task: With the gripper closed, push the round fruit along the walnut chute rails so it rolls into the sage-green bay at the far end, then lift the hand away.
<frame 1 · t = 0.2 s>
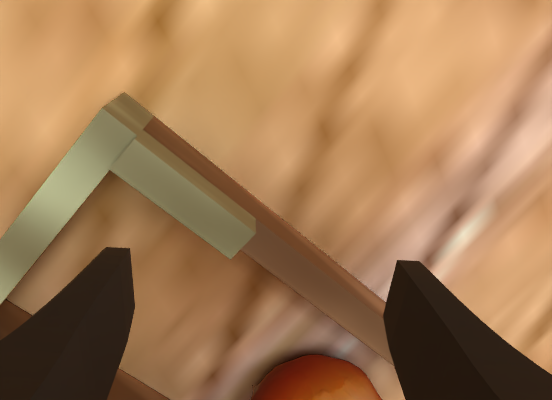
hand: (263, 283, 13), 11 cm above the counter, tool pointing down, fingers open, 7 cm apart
chute: (231, 339, 27), on the counter
fruit: (310, 390, 29), on the counter
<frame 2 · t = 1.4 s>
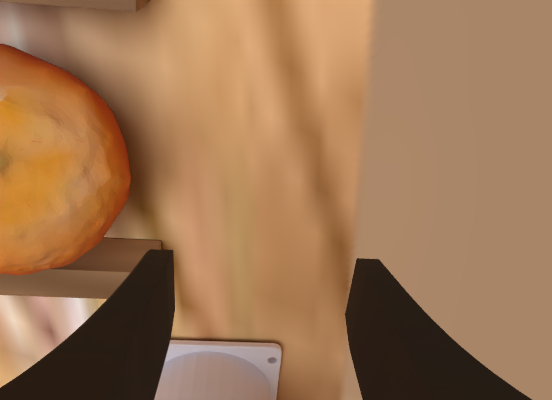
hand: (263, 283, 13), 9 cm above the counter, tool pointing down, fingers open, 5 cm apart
fruit: (51, 127, 21), on the counter
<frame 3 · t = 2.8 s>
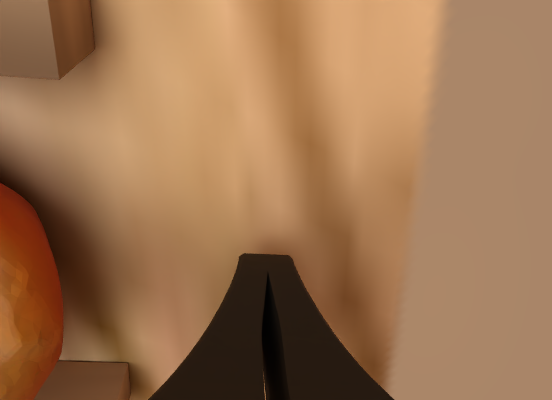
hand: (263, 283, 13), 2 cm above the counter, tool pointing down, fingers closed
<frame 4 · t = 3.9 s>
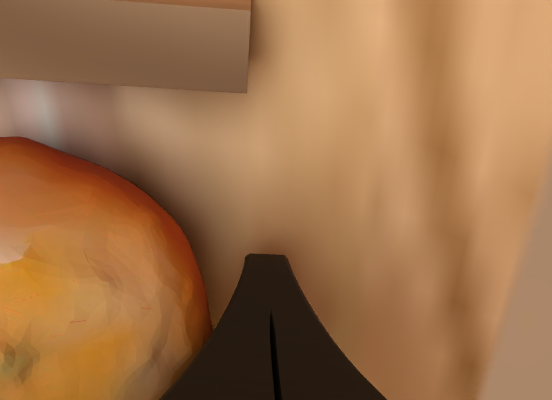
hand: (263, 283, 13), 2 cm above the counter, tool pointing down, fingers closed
fruit: (83, 231, 15), on the counter, touching gripper
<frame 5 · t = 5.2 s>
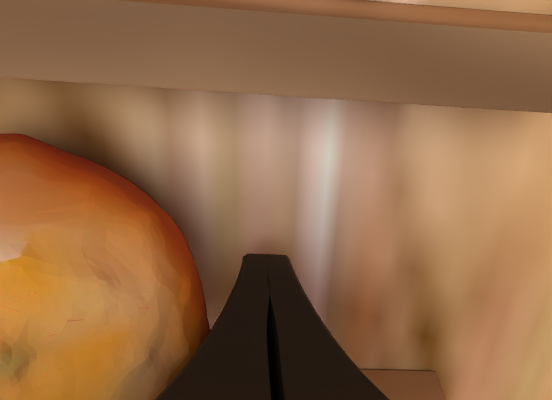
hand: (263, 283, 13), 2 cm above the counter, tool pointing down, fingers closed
chute: (138, 237, 15), on the counter
fruit: (80, 229, 15), on the counter, touching gripper
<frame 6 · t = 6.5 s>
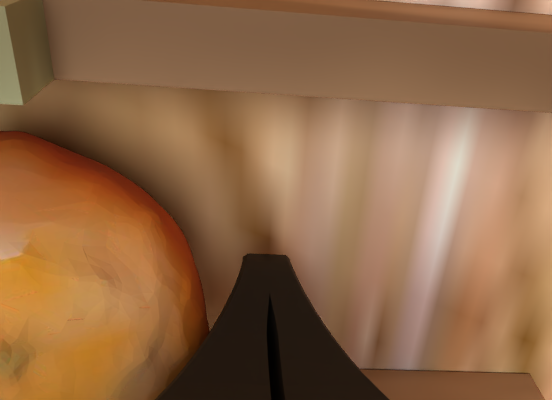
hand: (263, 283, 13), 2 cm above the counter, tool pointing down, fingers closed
chute: (261, 242, 15), on the counter
fruit: (80, 227, 15), on the counter, touching gripper
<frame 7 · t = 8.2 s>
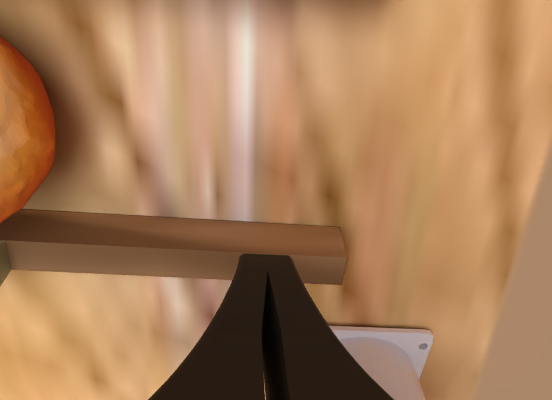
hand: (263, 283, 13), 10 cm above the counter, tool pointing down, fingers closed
chute: (115, 105, 21), on the counter
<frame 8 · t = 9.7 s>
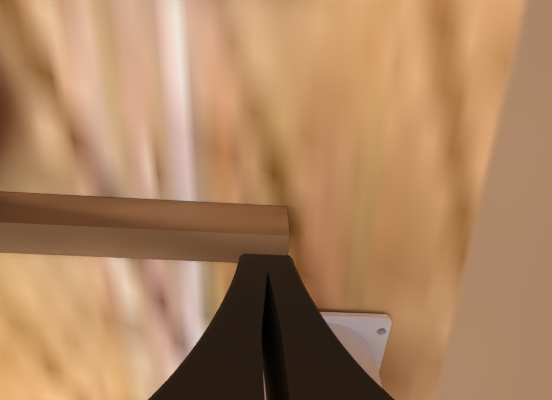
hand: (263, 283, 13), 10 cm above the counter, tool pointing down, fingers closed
chute: (45, 79, 20), on the counter
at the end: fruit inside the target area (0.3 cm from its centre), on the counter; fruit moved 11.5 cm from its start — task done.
